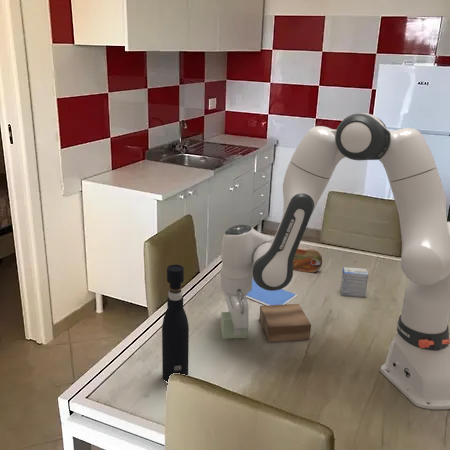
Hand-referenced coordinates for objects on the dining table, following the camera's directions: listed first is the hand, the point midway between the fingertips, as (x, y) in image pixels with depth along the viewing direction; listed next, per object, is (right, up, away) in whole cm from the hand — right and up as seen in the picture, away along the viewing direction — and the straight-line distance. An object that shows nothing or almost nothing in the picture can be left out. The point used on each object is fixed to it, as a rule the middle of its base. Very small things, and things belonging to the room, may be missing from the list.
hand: (234, 325), depth 147 cm
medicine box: (+40, +5, +26) cm, 48 cm away
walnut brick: (+15, -2, +4) cm, 15 cm away
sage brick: (0, -3, +1) cm, 3 cm away
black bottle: (-15, -9, -19) cm, 26 cm away
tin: (+25, +12, +43) cm, 51 cm away
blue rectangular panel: (+10, +5, +24) cm, 27 cm away
